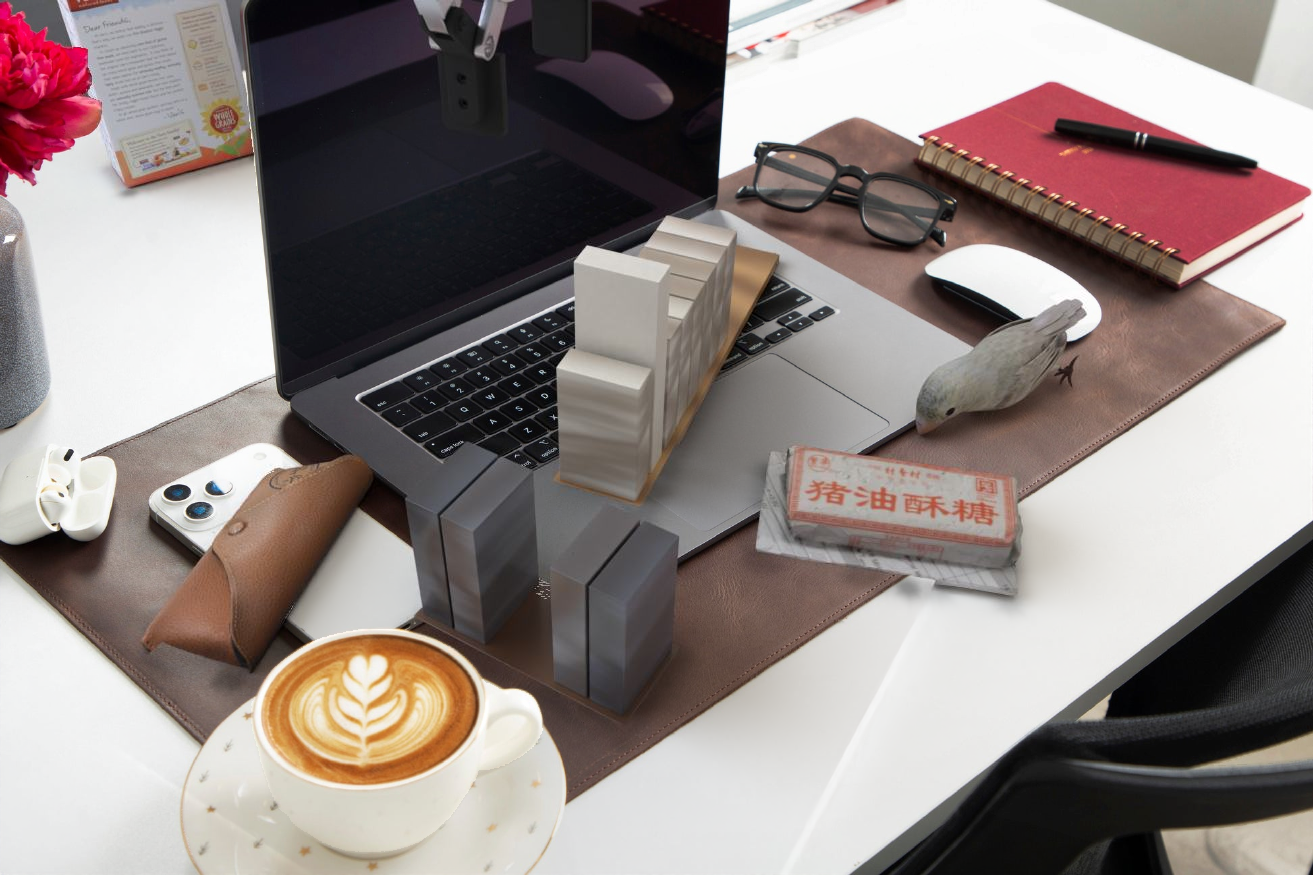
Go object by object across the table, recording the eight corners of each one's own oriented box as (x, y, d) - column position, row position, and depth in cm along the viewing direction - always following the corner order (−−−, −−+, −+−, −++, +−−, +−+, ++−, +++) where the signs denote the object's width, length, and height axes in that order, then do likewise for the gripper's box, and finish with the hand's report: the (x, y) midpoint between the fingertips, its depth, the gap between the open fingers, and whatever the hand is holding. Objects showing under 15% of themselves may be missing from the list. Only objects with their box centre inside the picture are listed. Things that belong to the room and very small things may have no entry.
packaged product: (1023, 452, 82) (1032, 554, 75) (1007, 500, 85) (1014, 602, 78) (773, 417, 84) (758, 513, 77) (767, 465, 87) (752, 561, 80)
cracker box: (241, 131, 124) (195, -70, 110) (262, 154, 120) (217, -51, 106) (108, 165, 117) (41, -44, 103) (126, 190, 114) (59, -23, 100)
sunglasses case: (269, 461, 85) (298, 411, 80) (352, 511, 86) (384, 464, 82) (131, 651, 72) (156, 603, 67) (231, 705, 73) (263, 662, 69)
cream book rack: (640, 516, 83) (644, 394, 75) (552, 490, 84) (547, 368, 77) (778, 263, 108) (792, 152, 100) (708, 247, 110) (717, 136, 102)
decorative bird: (892, 417, 92) (909, 342, 87) (1033, 355, 99) (1056, 283, 94) (938, 456, 89) (959, 380, 84) (1081, 390, 95) (1108, 316, 90)
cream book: (651, 474, 85) (659, 282, 73) (576, 452, 86) (573, 261, 75) (661, 455, 86) (671, 264, 75) (588, 434, 88) (586, 244, 76)
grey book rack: (680, 655, 74) (690, 532, 66) (624, 735, 69) (627, 613, 61) (479, 557, 79) (466, 433, 72) (414, 625, 75) (393, 501, 67)
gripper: (516, -341, 54) (529, 21, 65) (304, -287, 41) (364, 149, 53) (666, -326, 52) (652, 44, 63) (490, -264, 39) (512, 183, 51)
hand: (521, 91), depth 58 cm, fingers open, 9 cm apart
